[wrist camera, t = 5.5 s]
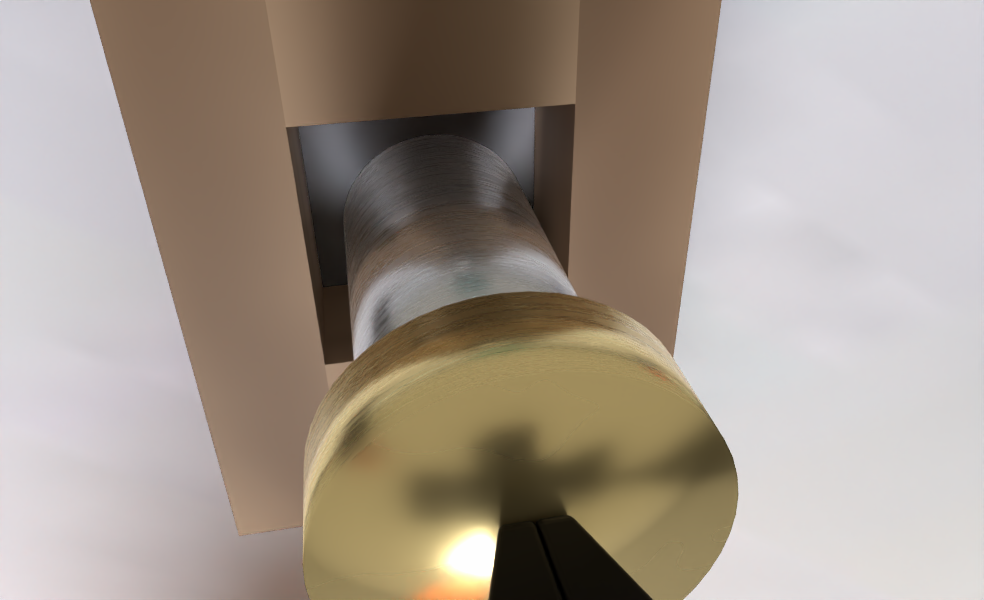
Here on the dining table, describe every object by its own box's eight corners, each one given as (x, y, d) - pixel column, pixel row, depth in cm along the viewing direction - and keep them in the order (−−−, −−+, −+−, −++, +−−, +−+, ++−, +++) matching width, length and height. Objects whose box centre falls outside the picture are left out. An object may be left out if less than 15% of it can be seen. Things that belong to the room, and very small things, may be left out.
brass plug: (561, 87, 15) (773, 342, 8) (554, 310, 18) (708, 641, 11) (287, 108, 14) (266, 410, 7) (324, 338, 17) (333, 713, 10)
